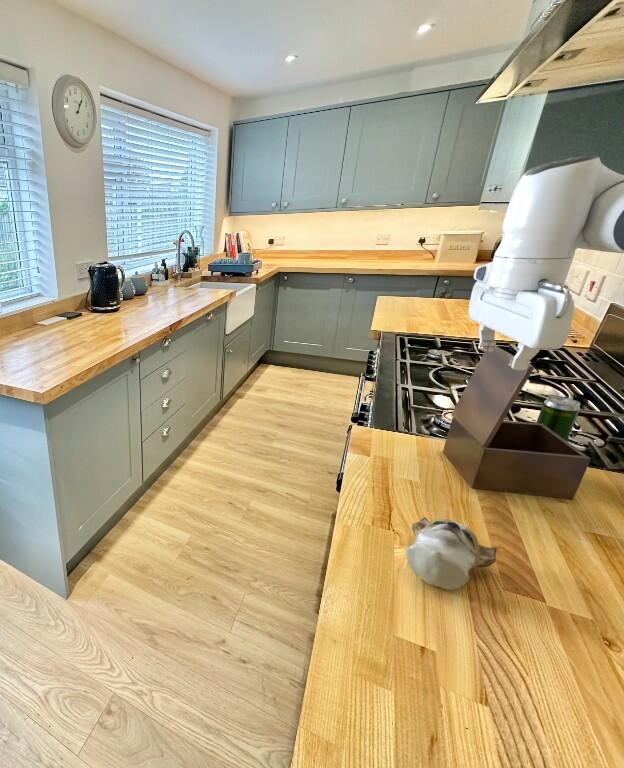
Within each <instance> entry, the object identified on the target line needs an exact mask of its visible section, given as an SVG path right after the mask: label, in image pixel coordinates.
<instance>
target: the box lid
mask: <svg viewBox="0 0 624 768" xmlns="http://www.w3.org/2000/svg"><path fill="white" fill-rule="evenodd" d="M514 356H515V355H514V354H512V353H510V352H508V351H506V350H505V349H502V348H501V347H500V346H497V345H496V346H495V349H494V351H492V352H484V351H483V353H482V355H481V357H480V360H479V361H478V363H477V365H476V367H475V368H474V371H473V372H472V374H471V376H470V378H469V380H468V382H467V384H466V386H465V388H464V390H463V392H462V394H461V395H460V397H459V399H458V401H457V403H456V405H455V407H454V409H453V411H452V413H451V416H452V418H453V417H454V418H455V419H456V420H457V421H458V422H459V423H460V424H461V425H462V426H463V427H464V428H465V429H466V430H467V431H468V432H469V433H470V434H471V435H472V436H473V437H474V438H475V439H476V440H477V441H478V442H479V443H480V444H481V445H482V446H483V447H488V446H489V444H490V442H491V440H492V439H493V437H494V435H495V434H496V432H497V430H498V429H499V427H500V425H501V424H502V422H503V421H505V419H506V417H507V415H508V413H509V412H510V410H511V409H512V407H513V405H514V404H515V402H516V400H517V398H518V397H519V395H520V394H521V392H522V390H523V388H524V386H525V385H526V383H527V382H528V379H529V378H530V376H531V374H532V373H533V371H534V370H535V366H533V365H532V364H530V363H529V364H528V367H527V369H526V370H514V369H513V368H511V367H509V366H508V363H509V362H510V361H509V360H510V357H514Z"/></svg>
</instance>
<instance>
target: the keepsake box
mask: <svg viewBox="0 0 624 768" xmlns="http://www.w3.org/2000/svg"><path fill="white" fill-rule="evenodd" d="M442 453H443V455H444V456H445V457H446V459H447V460H448V461H449V462H450V463H451V465H452V466H453V467H454V468H455V470H456V472H458V473H459V475H460V476H461V477H462V478H463V480H464V482H466V483H467V485H468V486H469V487H470V488H471V489H475V490H482V491H483V490H484V491H494V492H503V493H511V494H520V495H528V496H536V497H546V498H555V499H556V498H557V499H565V500H574V498H575V496H576V494H577V491H578V490H579V487H580V485H581V483H582V480H583V478H584V476H585V473H586V472H587V470H588V467H589V465H590V462H591V460H592V458H591V457H589V456H588V455H586V453H584V452H582V451H581V450H580V449H579V448H577V447H576V446H574V445H573V444H571V443H570V442H569V441H568V440H567V441H566V440H564V439H563V438H562V437H560V436H559V435H558V434H556V433H555V432H553V431H552V430H551V429H549V428H548V427H547V426H545V425H544V424H540V423H536V422H525V421H524V422H523V421H513V420H512V421H510V420H503V422H502V424H501V425H500V427H499V429H498V430H497V432H496V434H495V435H494V437H493V439H492V440H491V442H490V444H489V446H488V447H483V446H482V445H481V444H480V443H479V442H478V441H477V440H476V439H475V438H474V437H473V436H472V435H471V434H470V433H469V432H468V431H467V430H466V429H465V428H464V427H463V426H462V425H461V424H460V423H459V422H458V421H457V420H456V419H455V418H454V417H453V416H452V417H451V421H450V425H449V428H448V433H447V435H446V439H445V443H444V446H443V450H442Z"/></svg>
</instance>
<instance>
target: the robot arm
mask: <svg viewBox="0 0 624 768" xmlns="http://www.w3.org/2000/svg"><path fill="white" fill-rule="evenodd" d="M501 230H502V231H501V232H502V237H501V241H500V244H499V246H498V247H497V248H496V250H495V252H494V254H493V255H494V256H493V259H492V261H489V262H488V263H486V264H483V265H480V266H477V267H476V268H475V270H474V273H473V279H474V280H475V281H476V282H475V283H474V284H473V287H472V290H471V294H470V298H469V303H468V308H467V309H468V310H467V312H468V318H469V320H471V321H474V322H475V323H478V324H479V327H478V335H479V343H478V346H477V348H478V350H480V351H482V352H483V353H484V352H492V351H494V349H495V346H497V341H495V337H496V332H497V333H498V334H501V335H503V336H505V337H506V338H510V339H511V340H513V341H515V342H517V347H516V348H517V349H518V350H517V352H516V354H515V355H513V356H514V357H510V360H509V361H510V362H509V363H508V366H509V367H511V368H513V369H514V370H526V369H527V367H528V364H530V361H531V360H533V358H534V357H536V355H537V354H538V353H540V351H541V350H559V349H560V348H562V347H563V346H565V344H567V343H566V342H567V340H568V337H569V335H570V331H571V327H572V322H573V319H574V312H575V301H574V299H573V295H572V294H571V292H570V290H569V286H568V285H567V284H566V280H567V278H568V275H569V272H570V268H571V266H572V263H573V260H574V257H575V254H576V251H577V250H578V249H580V250H587V251H588V250H589V251H598V252H603V253H616V254H624V174H621V173H619V172H616V171H614V170H613V169H610V168H609V167H607V166H606V165H605V164H603V163H602V161H601V158H600V156H597V155H580V156H574V157H573V156H572V157H569V158H563V159H558V160H553V161H549V162H544V163H542V164H538V165H536V166H533V167H532V168H529V170H526V171H525V172H524V173H523V175H522V176H521V177H520V179H519V180H518V181H517V184H516V185H515V188H514V189H513V193H512V194H511V197H510V200H509V203H508V205H507V209H506V212H505V216H504V218H503V222H502V226H501Z"/></svg>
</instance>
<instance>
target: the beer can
mask: <svg viewBox="0 0 624 768" xmlns="http://www.w3.org/2000/svg"><path fill="white" fill-rule="evenodd" d="M580 411H581V402H580V401H578V400H575V399H572V398H569V397H564V396H555V395H551V396H550V395H549V396H548V397H546V400H544V401H543V404H542V406H541V409H540V411H539V415H538V417H537V420H536V422H535V423H540V424H544V425H545V426H547V427H548V428H549V429H551V430H552V431H553V432H555V433H556V434H558V435H559V436H560V437H562V438H563V439H564V440H566V441H567V442H568V440H569V438H570V434H571V432H572V430H573V427H574V425H575V423H576V420H577V418H578V415H579V413H580Z"/></svg>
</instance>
